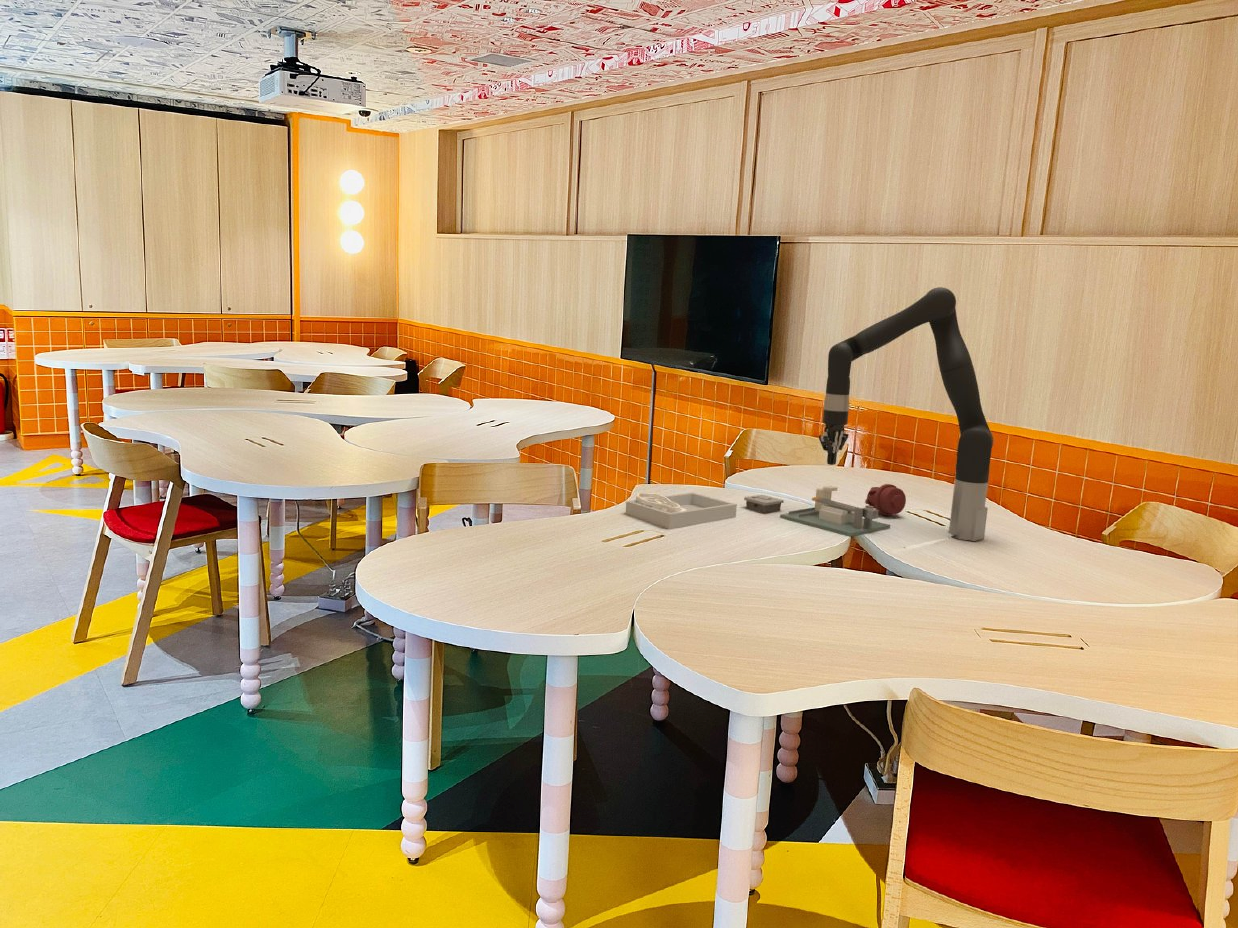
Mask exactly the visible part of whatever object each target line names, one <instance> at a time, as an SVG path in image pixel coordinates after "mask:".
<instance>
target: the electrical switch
mask: <svg viewBox="0 0 1238 928" xmlns="http://www.w3.org/2000/svg"><path fill="white" fill-rule="evenodd" d="M743 499H744V501H746V503H745V504H746V505H745V506H746V509H748V510H751V511H755V512H758V513H761V514H769V513H775V512H780V511H781V506H782V504H784V499H781V498H777V497H772V496H770V495H769V496H768V495H765V494H756V495H747V496H744V498H743Z"/></svg>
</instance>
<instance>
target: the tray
mask: <svg viewBox="0 0 1238 928" xmlns="http://www.w3.org/2000/svg"><path fill="white" fill-rule="evenodd" d="M664 496H665V497H666V498H668V499H669V500H670V501H672V502H675V503H677V504H679V505H680V507H681V508H684V509H686V511H681V512H674V513H668V512H665V511H662V510H658V509H655V508H652V506H648V505H646V504H645V505H642V503H641V502H639V501H638V500H636V499H634V500H627V501H626V502H625V515H628V516H631V517H633V518H637V519H640V520H642V521H644V522H647V523H650V524H653V525H655V526H658V527H662V528H665V529H668V530H671V529H678V528H683V527H684V528H685V527H689V526H696V525H700V524H707V523H714V522H718V521H719V522H720V521H723V520H729V519H730V520H731V519H734V518H735V519H736V517H737V508H738V507H737V505H738V504H737V503H734V502H731V501H730V502H729V501H726V500H723V499H719V498H714V497H711V496H708V495H707V496H706V495H703V494H699V493H697V492H686V493H679V494H671V495H664ZM646 499H658V498H655V497H646ZM671 507H674V506H671Z"/></svg>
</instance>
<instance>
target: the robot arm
mask: <svg viewBox="0 0 1238 928" xmlns="http://www.w3.org/2000/svg"><path fill="white" fill-rule="evenodd" d="M956 306H957V299H956V296H955V294H954V292H953V291H951V290H950V289H949V288H946V287H942V286H940V287H934V288H932V289H931V290H929V291H928V292H926V294H925V295H923V296H922V297H921V298H920V299H918V300H916V302H914V303H913V304H910V306H908V307H906V308H904V309H903V310H901V311H899V312H897V313H895V314H893V315H891V316H888V317H886V318H885V319H882V320H880V321H878V322H875V323H874V324H872V325H870V326H868V327H866V328H864V329H863V330H861V331H859V332H858V333H856V334H855V335H853V336H851V337H848V338H846V339H844V340H842V341H840V342H838V343H836V344H834V345H832V347H830V349H829V352H828V357H827V358H828V359H827V379H826V386H825V387H826V388H825V397H824V401H823V412H822V414H823V415H822V423H823V424H824V429H823V433H822V434H819V435H818V440H819V443H820V445H821V447H822V449H823V451H825V452H827V459H826V463H827V465H829V466H834V465H836V464H837V455H838V453H839V451H842V450H843V447H844V446H845V444H846V442H847V440H848V438H849V433H846V432H845V426H847V425H848V422H849V413H850V412H849V410H850V390H851V378H850V376H851V368H852V362H854V361H856V360H858V359H859V358H861V357H863V356H864V355H866V354H870V353H872V352H874V351H876V350H878V349H880V348H882V347H884V346H886V345H887V344H890V343H891V342H893V341H895V340H896V339H899V337H901V336H903V335H904V334H906V333H908V332H909V331H911V330H913V329H915V328H917V327H919V326H922V325H924V324H927V323H929V326H930V328H931V331H932V334H933V338H934V342H935V349H936V350H935V351H936V356H937V361H938V362H937V363H938V367H939V372H940V376H941V379H942V382H943V383H942V384H943V386H944V389H945V391H946V394H947V397H948V399H949V401H950V403H951V405H952V406H953V409H954V411H955V414H956V418H957V423H958V428H959V435H960V436H959V439H958V444H957V452H956V462H955V474H954V475H955V477H954V482H953V483H954V486H953V493H952V499H951V500H952V502H951V511H950V519H949V527H948V533H949V534H951V535H950V537H952V538H954V539H959V540H966V541H972V542H975V541H980V540H984V539H985V533H986V525H987V518H988V507H986V501H987V493H988V486H989V485H988V484H989V479H990V477H989V476H990V467H991V457H992V450H993V446H994V436H993V433H992V432H991V429H990V427H989V424H988V422H987V420H986V417H985V414H984V411H983V408H982V402H981V398H980V389H979V385H978V380H977V375H976V371H975V368H974V364H973V361H972V358H971V355H970V352H969V350H968V348H967V345H966V342H965V341H964V338H963V336H962V334H961V331H960V326H959V322H958V317H957V316H958V315H957V308H956Z"/></svg>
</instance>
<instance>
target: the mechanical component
mask: <svg viewBox="0 0 1238 928" xmlns="http://www.w3.org/2000/svg"><path fill="white" fill-rule="evenodd" d="M906 497H907V496H906V494H905V492H904V491H903V490H902V489H901V488H899V487H897V486H896V485H894V484H890V483H884V484H882V485H880V486H871V488H870V490H869V491H868V493H867V496H866V499H865V500H864V503H865V504H866V505H869V506H873V507H874V508H873V509H876V510H879V514H880V515H882V516H892V515H898V514H899V513H901V512H903V510H904V508H905V507H906V503H907V500H906V499H907V498H906Z"/></svg>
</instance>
